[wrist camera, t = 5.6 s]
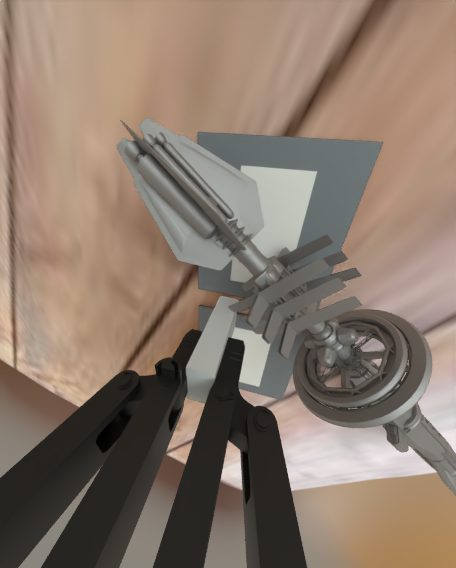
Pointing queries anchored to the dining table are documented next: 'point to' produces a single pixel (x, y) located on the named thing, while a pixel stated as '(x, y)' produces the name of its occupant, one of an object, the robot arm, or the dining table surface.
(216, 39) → the dining table surface
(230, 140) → the label cards
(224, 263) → the spaceship
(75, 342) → the dining table surface
